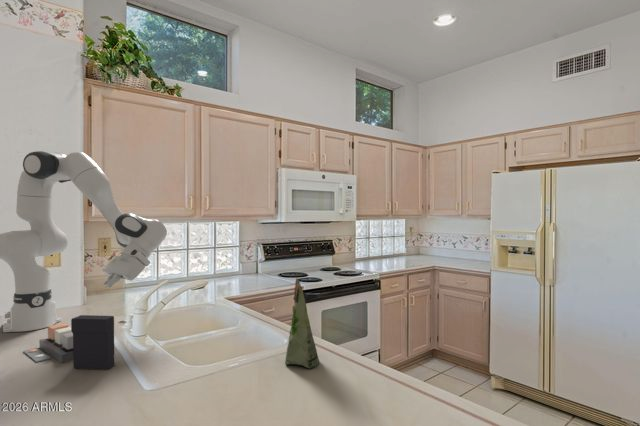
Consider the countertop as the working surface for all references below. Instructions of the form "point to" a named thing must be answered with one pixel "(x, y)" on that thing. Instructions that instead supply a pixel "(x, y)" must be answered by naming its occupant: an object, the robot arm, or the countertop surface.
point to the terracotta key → (55, 327)
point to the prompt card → (36, 355)
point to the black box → (93, 342)
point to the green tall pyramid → (301, 334)
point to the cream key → (59, 334)
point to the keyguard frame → (56, 350)
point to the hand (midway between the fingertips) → (106, 286)
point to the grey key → (67, 340)
